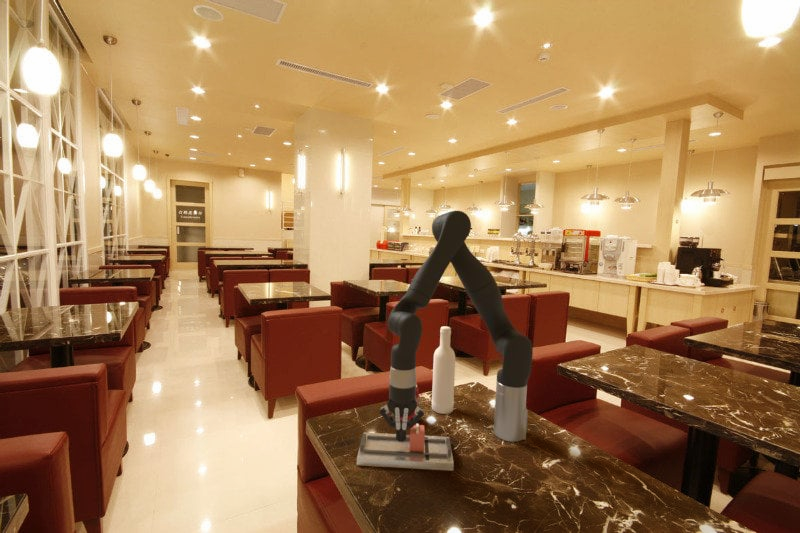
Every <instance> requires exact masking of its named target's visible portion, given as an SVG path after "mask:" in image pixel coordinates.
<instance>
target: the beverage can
mask: <svg viewBox="0 0 800 533" xmlns="http://www.w3.org/2000/svg"><path fill="white" fill-rule="evenodd" d="M419 398H420V389H419V387H418V384H416V399H415V400H416V402H417V406H418V407H419V400H420V399H419ZM414 414H415V410H414V412H413V413H412V414H411V415H410V416H409V417H408V418H407V422H408V421H409V420H410V419H411V418H412V417H413V416H414ZM400 419H401V421H402V422H403V417H400Z"/></svg>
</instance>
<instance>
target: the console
mask: <svg viewBox="0 0 800 533" xmlns="http://www.w3.org/2000/svg"><path fill="white" fill-rule="evenodd" d="M450 438H451V437H450V436H439V435H425V439H424V452H419V451H410V434H406V439H405V440H403V442H398V440H397V439H396V433H387V432H386V433H383V432H382V433H380V432H363V433H362V436H361V440H360V444H359V447H358V448H359V449H358V453H357V456H356V466H363V467H382V468H397V469H398V468H400V469H401V468H402V469H414V470H415V469H416V470H417V469H419V470H435V471H449V472H450V471H452V472H453V471H454V466H455V465H454V456H453V452H452V451H453V450H452V446H451V439H450Z"/></svg>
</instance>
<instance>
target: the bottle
mask: <svg viewBox="0 0 800 533" xmlns="http://www.w3.org/2000/svg"><path fill="white" fill-rule="evenodd" d="M439 332H440V333H439V336H440V337H439V346H438V347H437V348H436V349H435V350H434V353H433V361H432V362H433V364H432V366H433V367H432V389H431V390H432V392H431V410H432V411H433V412H435V413H437V414H441V415H442V414H443V415H445V414H450V413H452V412H453V411H454V406H455V405H454V403H455V402H454V396H455V379H456V378H455V376H456V375H455V374H456V373H455V372H456V354H455V351H454V349H453V348H452V347H451V335H452V327H450V326H447V325H445V326H441V327H440V330H439Z"/></svg>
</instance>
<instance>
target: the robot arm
mask: <svg viewBox="0 0 800 533" xmlns="http://www.w3.org/2000/svg"><path fill="white" fill-rule="evenodd" d="M471 227H472V222H471V218H470V217H469V216H468V214H467V213H466V212H464V211H462V210H451V211H449V212H446V213H442V214H440V215H438V216H437V217H435V218H434V219H433V221H432V224H431V231H432V234H433V238H434V239H435V241H436V242H437V243H436V245H435V246H434V248H433V250H432V251H431V253H430V254H429V256H428V257H427V258H426V259H425V261H424V262H423V264H422V265H421V266H420V267H419V269H418V270H417V271H416V273H415V275H414V276H413V278H412V280H411V282H410V284H409V286H408V287H407V290H406V293H405V294H404V295H403V297H401V298H400V300H399V301H398V302H397V304H396V305H395V306H394V307H393V309H392V310H391V311H390V313H389V316H388V319H387V328H388V330H389V331H390V332H391V333H392V334H394V335H396V336H398V337H399V343H396V344H394V345H393V346H392V347H391V352H390V370H389V377H388V378H389V379H388V384H389V387H388V389H389V390H388V400H387V402H386V404H385V405H382V406H380V410H379V414H380V415H381V416H382V418H383V419H384V420H385V422H386V423H387V424H388V425H389V427H390V428H395V431H396V432H395V434H396V439H397V440H398V442H403V440H405V439H406V435H407V430H408V429H410V428H412V427H413V426H414V425H416V423H417V424H418V422H419V421H420V420H421V418H422V417H423V416H424V415H425V414H424V413H425V412H424V407H420V406H419V405H418V406H417V402H416V400H415V399H416V385H417V370H416V369H417V366H416V365H417V351H418V348H419V345H420V342H421V338H422V333H423V323H422V321H421V318H420V317H419V316H418V315H417V314H416V312H417V311H418V310H419V309H420V310H421V309H425V308H427V306H428V305H429V303H430V301H431V300H432V297H433V295H434V294H435V291H436V290H437V287H438V284H439V283H440V281H441V279H442V278H443V275H444V273H445V271H446V270H447V268H448V267H449V265H450V263H451V266H453V269H454V271H455V272H456V275H457V276H458V278H459V280H460V282H461V284H462V285H463V288H464V290H465V292H466V293H467V296H468V297H469V299H470V301H471V302H472V305H473V306H474V308H475V310H477V313H478V314H479V316H480V317H481V319H482V321H483V322H484V324H485V326H486V328H487V330H488V332H489V335H490V337H491V339H492V342H493V345H494V348H495V349H496V351H497V352H498V354H499V355H500V356H501V357H503V358H502V368H500V369H499V370H498V371H497V372H496V386H495V400H494V402H495V403H494V404H495V405H494V419H493V433H494V435H495V437H497V438H499V439H501V440H503V441H506V442H511V443H513V442H520V441H523V440H526V439H527V426H528V413H529V412H528V409H527V405H526V404H527V391H528V380H529V379H530V376H531V372H532V364H533V354H534V353H533V350H534V349H533V344H532V341H531V340H530V339H529V337H527V336H526V335H524V334H523V333H521V332H520V331H518V330H517V329H516V328H515V327H514V325H513V323H512V322H511V320H510V318H509V317H508V315H507V314H506V311H505V306H504V301H503V296H502V293H501V290H500V288H499V286H498V283H497V281H496V280H495V278H494V276H493V274H492V272H491V271H490V270H489V269H488V268H487V266H485V265H484V264H483V262H481V261H480V260H479V259H478V258H477V257H476V256H475V255H474V254H473V253H472V252H471V250H470V249H469V247H468V246H467V244H466V242H465V241H466V240H467V238H468V237H469V235H470V233H471V230H472V228H471ZM414 410H415V414H414V416H413V417H412V418H411V419H410V420H409V421H408V422H407V418H408V417H409V416H410V415H411V414H412V413H413V412H414ZM390 412H391V413H392V415H391V414H390ZM393 416H394V417H395V418H394V417H393ZM400 417H403V421H402V420H401V419H400ZM401 421H402V422H401ZM401 423H402V424H401Z"/></svg>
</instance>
